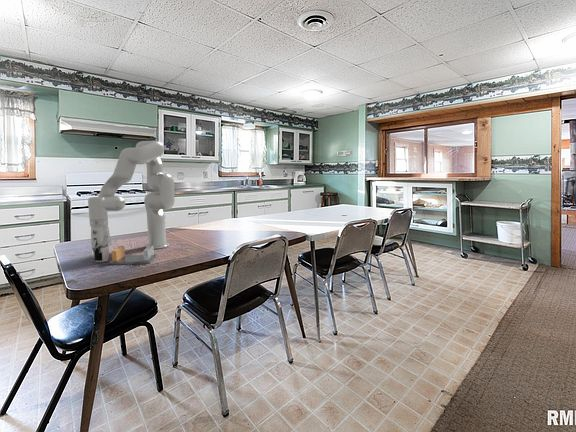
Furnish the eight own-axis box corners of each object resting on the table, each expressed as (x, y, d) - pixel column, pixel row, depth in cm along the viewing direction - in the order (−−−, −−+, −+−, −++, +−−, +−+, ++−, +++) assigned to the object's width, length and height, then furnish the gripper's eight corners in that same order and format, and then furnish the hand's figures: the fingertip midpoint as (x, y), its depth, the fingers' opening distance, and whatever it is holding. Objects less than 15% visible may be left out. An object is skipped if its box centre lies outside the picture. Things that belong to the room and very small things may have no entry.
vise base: (109, 264, 144) (108, 252, 143) (119, 257, 156) (118, 245, 155) (149, 263, 147) (149, 251, 146) (156, 256, 158) (156, 245, 157)
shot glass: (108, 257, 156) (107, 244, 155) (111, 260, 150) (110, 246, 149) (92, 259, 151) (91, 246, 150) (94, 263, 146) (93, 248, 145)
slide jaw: (112, 261, 145) (111, 251, 144) (120, 255, 155) (119, 246, 154) (116, 261, 145) (116, 251, 144) (124, 255, 155) (124, 246, 154)
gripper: (99, 225, 140) (102, 263, 143) (114, 219, 157) (117, 253, 160) (81, 225, 139) (84, 264, 142) (98, 219, 156) (101, 254, 159)
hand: (101, 258), depth 151 cm, fingers closed on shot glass, 5 cm apart
